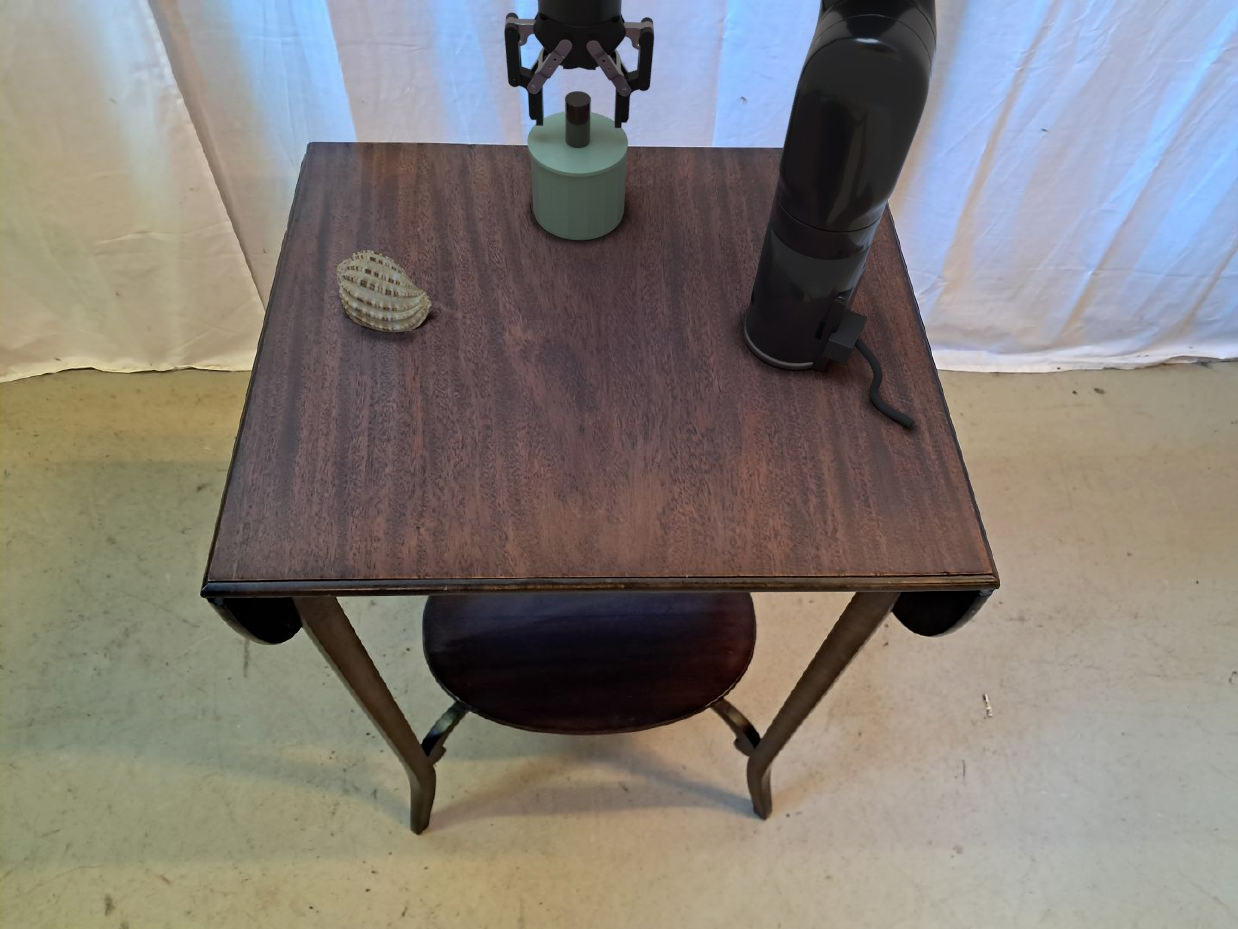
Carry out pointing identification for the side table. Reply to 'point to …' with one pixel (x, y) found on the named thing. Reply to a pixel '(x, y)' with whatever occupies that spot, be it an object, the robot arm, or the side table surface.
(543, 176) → the pot
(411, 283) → the seashell
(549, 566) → the side table surface
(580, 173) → the lid
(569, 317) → the side table surface
